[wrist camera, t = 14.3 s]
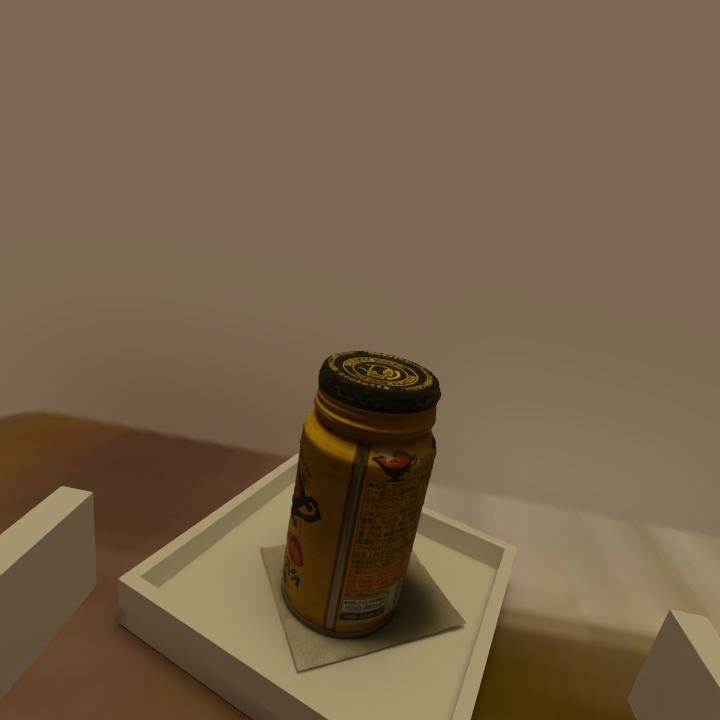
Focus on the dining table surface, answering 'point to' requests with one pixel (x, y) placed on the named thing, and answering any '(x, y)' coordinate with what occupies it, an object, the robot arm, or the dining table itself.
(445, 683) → the tray
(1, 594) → the robot arm
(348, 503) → the condiment
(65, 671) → the dining table surface
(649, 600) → the dining table surface
